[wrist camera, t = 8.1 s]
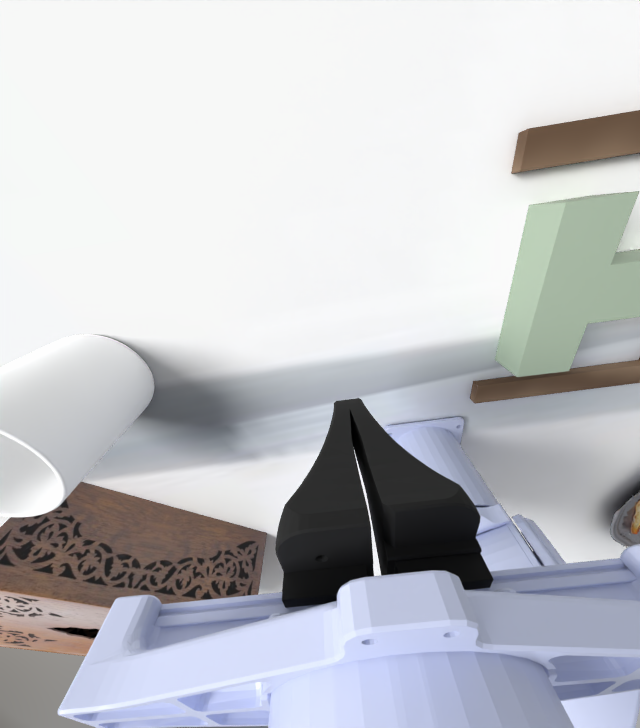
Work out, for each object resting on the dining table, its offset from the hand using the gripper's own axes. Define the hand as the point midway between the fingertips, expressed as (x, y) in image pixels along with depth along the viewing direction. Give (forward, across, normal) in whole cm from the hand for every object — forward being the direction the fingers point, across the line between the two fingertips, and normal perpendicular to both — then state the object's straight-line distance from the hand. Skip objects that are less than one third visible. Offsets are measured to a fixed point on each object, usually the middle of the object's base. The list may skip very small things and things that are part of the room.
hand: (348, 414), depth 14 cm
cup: (+10, +22, 0) cm, 24 cm away
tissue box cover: (+10, +27, +25) cm, 38 cm away
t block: (+9, -20, -2) cm, 22 cm away
